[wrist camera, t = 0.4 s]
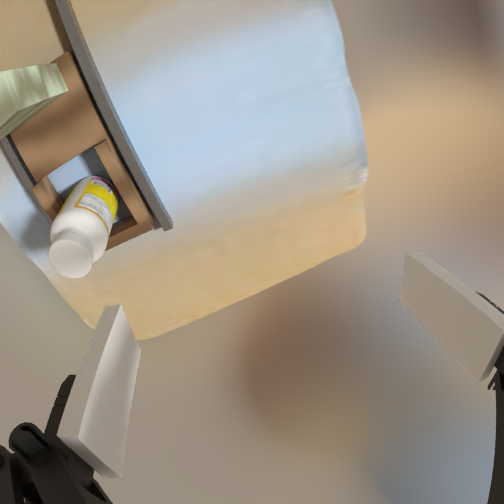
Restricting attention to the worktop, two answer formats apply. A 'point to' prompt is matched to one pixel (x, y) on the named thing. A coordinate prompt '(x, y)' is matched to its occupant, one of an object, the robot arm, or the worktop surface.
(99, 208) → the supplement bottle
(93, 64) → the lane rails
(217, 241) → the worktop surface
